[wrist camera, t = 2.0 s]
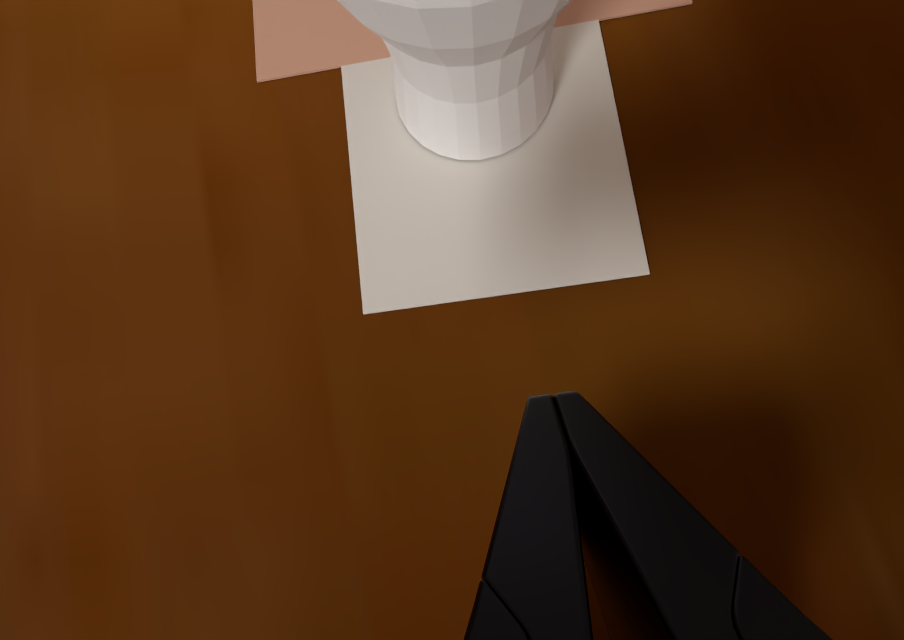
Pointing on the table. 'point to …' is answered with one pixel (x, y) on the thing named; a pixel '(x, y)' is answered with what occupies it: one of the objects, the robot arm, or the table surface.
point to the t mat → (473, 168)
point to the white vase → (467, 69)
